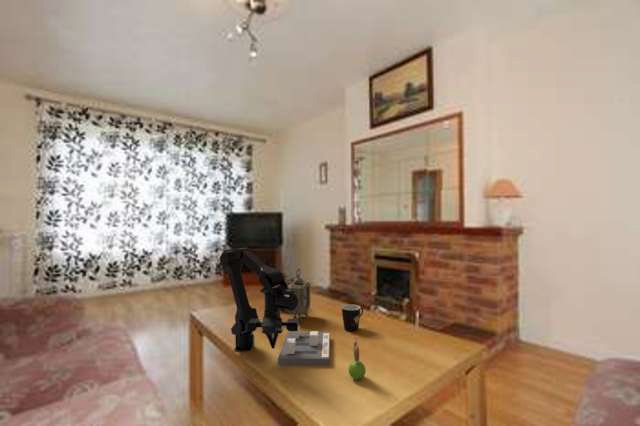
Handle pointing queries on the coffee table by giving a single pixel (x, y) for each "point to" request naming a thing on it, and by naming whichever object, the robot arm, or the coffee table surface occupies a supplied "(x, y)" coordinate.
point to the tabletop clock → (300, 296)
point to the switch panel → (306, 351)
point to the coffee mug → (351, 317)
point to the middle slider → (313, 338)
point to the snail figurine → (356, 364)
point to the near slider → (291, 346)
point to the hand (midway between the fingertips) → (273, 348)
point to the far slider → (295, 333)
